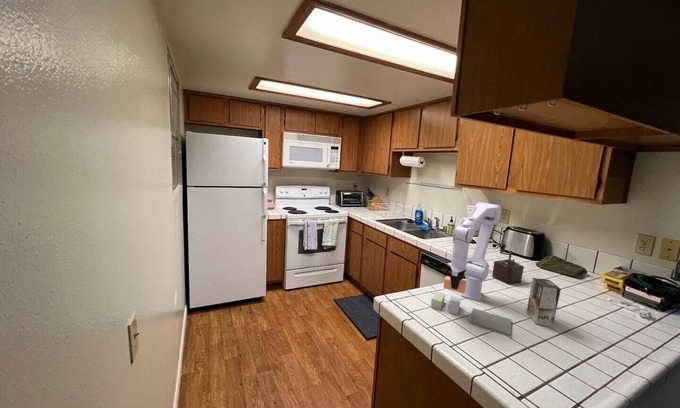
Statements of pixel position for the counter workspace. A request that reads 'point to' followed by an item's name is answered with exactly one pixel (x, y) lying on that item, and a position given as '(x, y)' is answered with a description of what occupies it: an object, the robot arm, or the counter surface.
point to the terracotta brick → (460, 288)
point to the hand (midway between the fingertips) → (455, 286)
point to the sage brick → (437, 300)
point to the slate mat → (491, 321)
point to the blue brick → (454, 305)
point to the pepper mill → (507, 269)
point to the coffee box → (543, 301)
